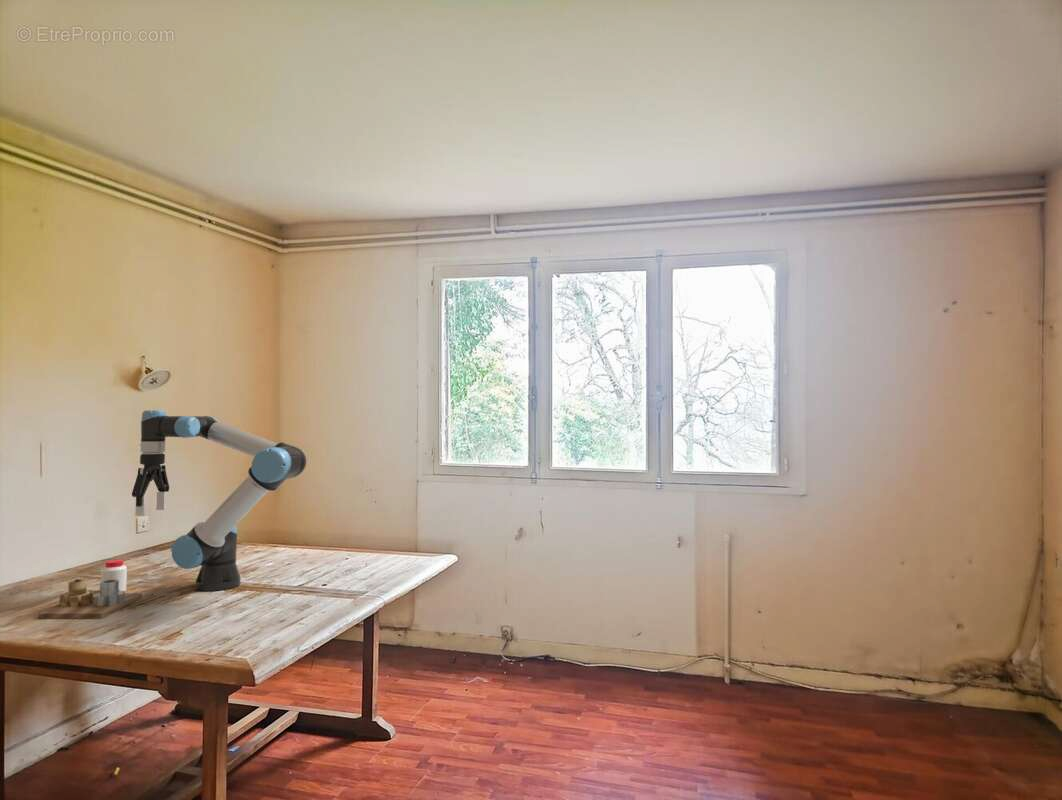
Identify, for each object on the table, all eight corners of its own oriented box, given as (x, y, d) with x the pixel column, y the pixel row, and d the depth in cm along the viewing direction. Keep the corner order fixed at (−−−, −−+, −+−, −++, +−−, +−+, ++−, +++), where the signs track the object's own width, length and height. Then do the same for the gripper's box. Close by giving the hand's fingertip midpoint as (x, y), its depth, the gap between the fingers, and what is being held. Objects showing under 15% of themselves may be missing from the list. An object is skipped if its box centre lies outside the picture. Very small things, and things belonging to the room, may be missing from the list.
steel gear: (130, 598, 207) (131, 577, 207) (114, 606, 198) (115, 585, 199) (103, 598, 207) (104, 577, 207) (86, 606, 198) (86, 585, 198)
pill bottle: (96, 595, 215) (97, 564, 215) (105, 589, 222) (106, 559, 223) (121, 594, 217) (122, 563, 217) (129, 588, 224) (130, 558, 225)
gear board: (141, 597, 214) (142, 571, 214) (101, 618, 192) (102, 588, 192) (84, 597, 212) (85, 571, 213) (37, 618, 190) (38, 588, 191)
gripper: (160, 451, 232) (158, 507, 231) (121, 455, 207) (119, 518, 207) (180, 451, 233) (178, 507, 232) (144, 455, 208) (142, 518, 207)
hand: (150, 512), depth 219 cm, fingers open, 13 cm apart
